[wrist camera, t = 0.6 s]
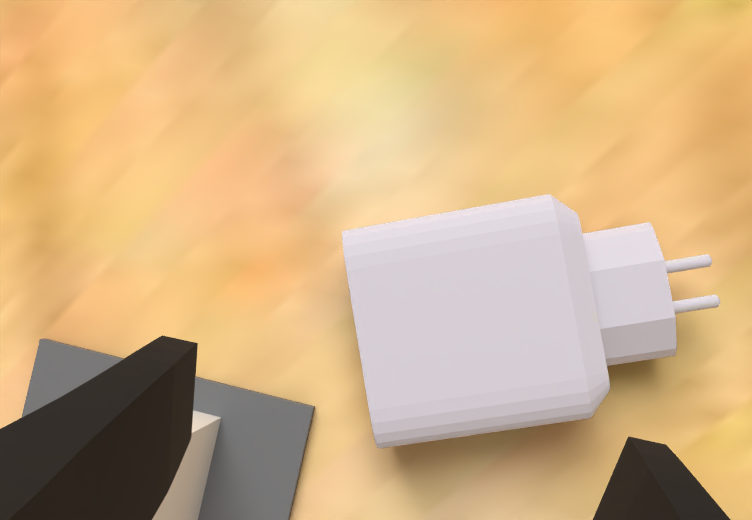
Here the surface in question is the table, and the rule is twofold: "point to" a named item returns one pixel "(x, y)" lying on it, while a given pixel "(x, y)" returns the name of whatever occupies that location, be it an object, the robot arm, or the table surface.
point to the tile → (191, 472)
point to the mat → (234, 439)
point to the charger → (503, 316)
